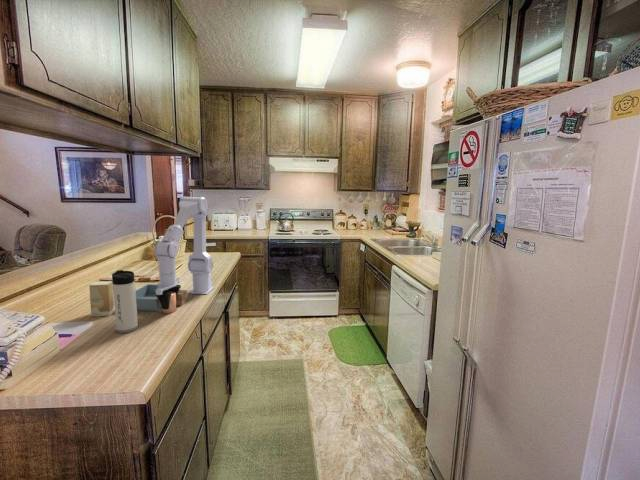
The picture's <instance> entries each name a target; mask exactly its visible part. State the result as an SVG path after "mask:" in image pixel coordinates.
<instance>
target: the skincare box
mask: <svg viewBox="0 0 640 480" xmlns="http://www.w3.org/2000/svg"><path fill="white" fill-rule="evenodd" d="M112 283H113V282H112V281H111V280H109V281H104V280H102V281H93V282H92V283H90V284H89V285H88V286H89V301H90V317H104V316H105V317H107V316H108V317H109V316H111V315H112V314H113V313H115V308H114V296H113V284H112Z"/></svg>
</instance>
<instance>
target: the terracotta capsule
mask: <svg viewBox="0 0 640 480" xmlns="http://www.w3.org/2000/svg"><path fill="white" fill-rule="evenodd" d="M161 309H162V308H161ZM161 311H162V313H163V314H173V313H176V312H177V311H178V310H177V306H176V293H175V292H172V294H171V297H170V303H169V309H162V310H161ZM172 312H173V313H172Z"/></svg>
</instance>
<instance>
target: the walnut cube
mask: <svg viewBox="0 0 640 480" xmlns="http://www.w3.org/2000/svg"><path fill="white" fill-rule="evenodd" d="M188 300H189V298H188V289H187V290H186V289H179V292H178V295H177V300H176V305H181V307H182V305H183V306H184V305H185V304H186V303H187V302H188Z"/></svg>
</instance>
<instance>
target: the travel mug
mask: <svg viewBox="0 0 640 480" xmlns="http://www.w3.org/2000/svg"><path fill="white" fill-rule="evenodd" d="M111 278H112V279H111V280H112V282H113V283H112V284H113V301H114V317H115V319H114V320H115V328H116V333H119V334H128V333H131V331H132V332H134V331H136V330H137V329H139V323H138V322H139V321H138V311H137V305H136V280H135V273H134V272H133V271H131V270H123V269H120V270H116V272H113V273H112V274H111Z"/></svg>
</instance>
